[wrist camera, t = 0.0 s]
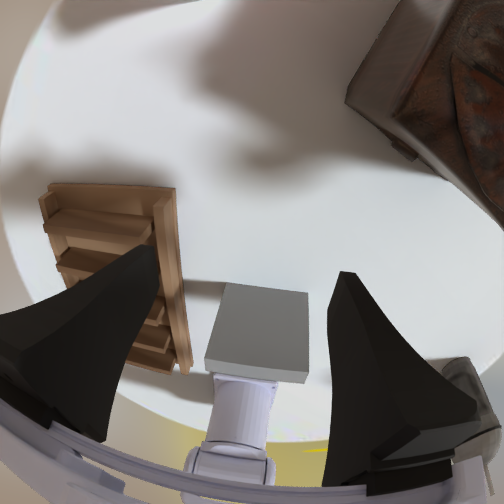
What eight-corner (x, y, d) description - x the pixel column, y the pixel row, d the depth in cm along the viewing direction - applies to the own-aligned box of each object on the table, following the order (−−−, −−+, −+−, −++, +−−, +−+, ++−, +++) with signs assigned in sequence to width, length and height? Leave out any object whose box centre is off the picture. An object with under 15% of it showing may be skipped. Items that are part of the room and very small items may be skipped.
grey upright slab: (304, 306, 25) (304, 383, 19) (226, 295, 26) (205, 370, 19) (308, 292, 24) (309, 372, 18) (226, 282, 25) (204, 358, 18)
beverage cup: (432, 363, 28) (457, 511, 12) (480, 342, 26) (519, 482, 9) (432, 386, 32) (450, 511, 15) (475, 369, 29) (503, 489, 13)
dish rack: (193, 363, 33) (186, 387, 30) (103, 339, 34) (91, 360, 31) (175, 188, 20) (155, 210, 17) (51, 183, 21) (26, 200, 18)
